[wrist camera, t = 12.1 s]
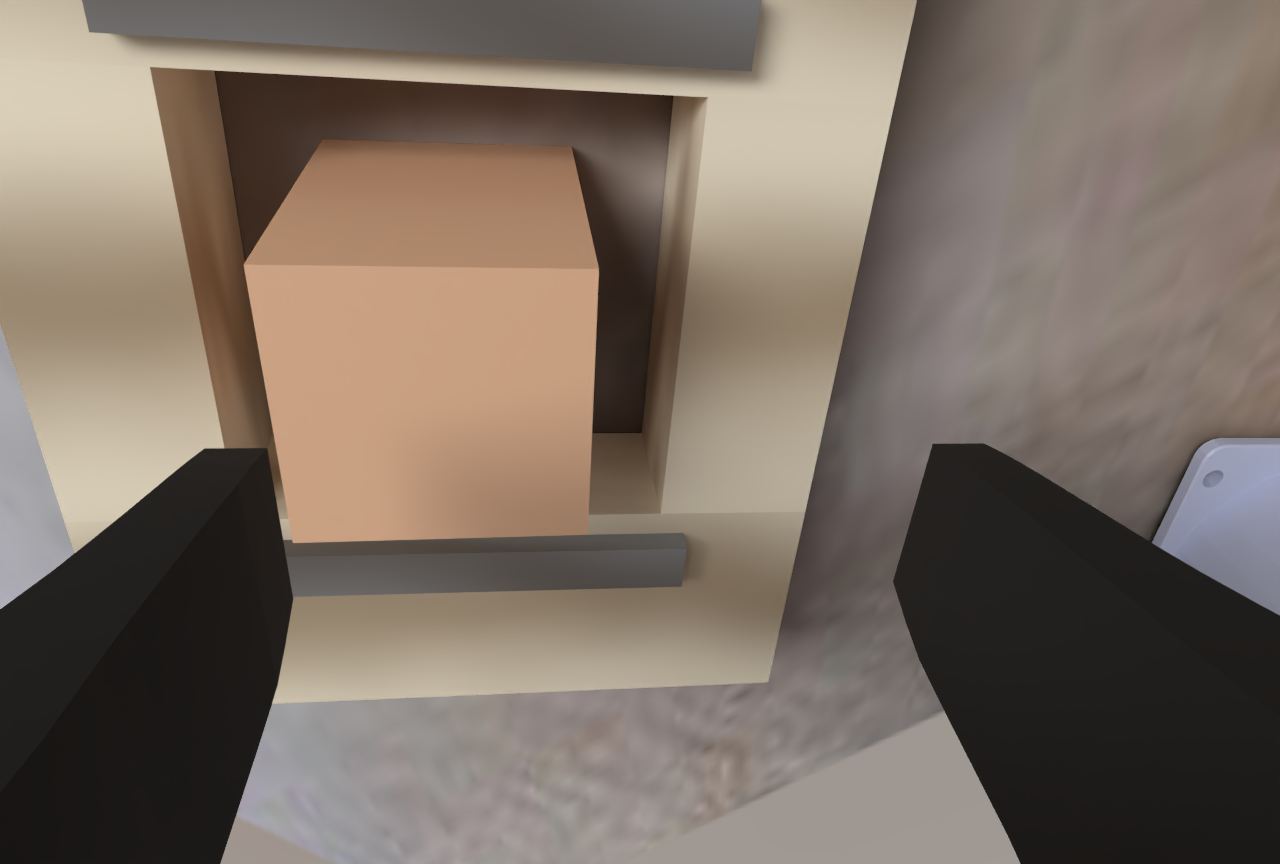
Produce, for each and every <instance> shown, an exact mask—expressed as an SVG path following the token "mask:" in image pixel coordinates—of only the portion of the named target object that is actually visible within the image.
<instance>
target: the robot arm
mask: <svg viewBox="0 0 1280 864" xmlns="http://www.w3.org/2000/svg"><path fill="white" fill-rule="evenodd" d="M1207 474H1209V475H1207ZM1206 475H1207V476H1206ZM893 583H894V586H895V589H896V592H897V595H898V598H899V602H900V605H901V608H902V611H903V614H904V617H905V621H906V624H907V627H908V629H909V632H910V635H911V638H912V640H913V643H914V646H915V649H916V652H917V654H918V657H919V660H920V662H921V664H922V666H923V668H924V670H925V672H926V674H927V676H928V678H929V680H930V682H931V685H932V687H933V689H934V691H935V693H936V695H937V697H938V699H939V701H940V703H941V705H942V707H943V709H944V711H945V713H946V715H947V717H948V719H949V721H950V723H951V725H952V727H953V728H954V730H955V732H956V734H957V736H958V738H959V740H960V742H961V744H962V746H963V748H964V750H965V752H966V754H967V756H968V758H969V760H970V762H971V763H972V766H973V768H974V770H975V772H976V774H977V776H978V778H979V780H980V782H981V784H982V786H983V788H984V790H985V792H986V793H987V795H988V797H989V799H990V801H991V803H992V805H993V807H994V809H995V811H996V813H997V815H998V817H999V819H1000V821H1001V823H1002V825H1003V827H1004V829H1005V831H1006V833H1007V835H1008V837H1009V839H1010V841H1011V843H1012V846H1013V848H1014V850H1015V852H1016V854H1017V857H1018V859H1019V861H1020V863H1021V864H1280V438H1218V439H1212V440H1210V441H1208V442H1206V443H1204V444H1203V445H1202V446H1201V447H1199V448H1198V450H1197V451H1196V453H1195V454H1194V456H1193V458H1192V461H1191V463H1190V465H1189V467H1188V469H1187V471H1186V473H1185V475H1184V477H1183V479H1182V481H1181V483H1180V485H1179V488H1178V490H1177V492H1176V494H1175V496H1174V498H1173V500H1172V502H1171V504H1170V506H1169V508H1168V510H1167V512H1166V515H1165V517H1164V519H1163V521H1162V523H1161V525H1160V527H1159V529H1158V531H1157V533H1156V535H1155V537H1154V539H1153V541H1152V543H1151V542H1149V541H1148V540H1146V539H1144V538H1143V537H1141V536H1139V535H1138V534H1136V533H1135V532H1133V531H1131V530H1130V529H1128V528H1126V527H1125V526H1123V525H1121V524H1120V523H1118V522H1117V521H1115V520H1113V519H1112V518H1110V517H1108V516H1107V515H1105V514H1104V513H1102V512H1100V511H1099V510H1097V509H1095V508H1094V507H1092V506H1091V505H1089V504H1087V503H1086V502H1084V501H1083V500H1081V499H1079V498H1078V497H1076V496H1074V495H1073V494H1071V493H1070V492H1068V491H1066V490H1065V489H1063V488H1062V487H1060V486H1058V485H1057V484H1055V483H1053V482H1052V481H1050V480H1048V479H1047V478H1045V477H1043V476H1042V475H1040V474H1038V473H1037V472H1035V471H1033V470H1032V469H1030V468H1028V467H1027V466H1025V465H1023V464H1021V463H1020V462H1018V461H1016V460H1014V459H1013V458H1011V457H1009V456H1007V455H1005V454H1003V453H1002V452H1000V451H998V450H996V449H994V448H992V447H990V446H988V445H985V444H933V445H932V449H931V452H930V456H929V459H928V463H927V466H926V470H925V473H924V477H923V480H922V483H921V487H920V490H919V494H918V497H917V501H916V504H915V508H914V511H913V515H912V518H911V522H910V525H909V528H908V532H907V535H906V539H905V542H904V546H903V549H902V553H901V556H900V560H899V563H898V566H897V570H896V573H895V577H894V580H893ZM292 604H293V594H292V588H291V582H290V576H289V571H288V565H287V559H286V553H285V548H284V542H283V536H282V530H281V524H280V519H279V513H278V507H277V501H276V496H275V490H274V484H273V478H272V472H271V467H270V461H269V455H268V449H267V448H205V449H203V450H202V451H201V452H199V453H198V454H197V455H195V456H194V457H192V458H191V459H190V460H189V461H187V462H186V463H185V464H184V465H182V466H181V467H180V468H179V469H177V470H176V471H175V472H174V473H173V474H171V475H170V476H169V477H168V478H166V479H165V480H164V481H163V482H162V483H160V484H159V485H158V486H157V487H156V488H154V489H153V490H152V491H151V492H150V493H148V494H147V495H146V496H145V497H144V498H142V499H141V500H140V501H139V502H138V503H136V504H135V505H134V506H133V507H132V508H130V509H129V510H128V511H127V512H125V513H124V514H123V515H122V516H121V517H119V518H118V519H117V520H116V521H114V522H113V523H112V524H111V525H109V526H108V527H107V528H106V529H104V530H103V531H102V532H101V533H99V534H98V535H97V536H96V537H95V538H93V539H92V540H91V541H90V542H88V543H87V544H86V545H85V546H83V547H82V548H81V549H80V550H78V551H77V552H76V553H75V554H73V555H72V556H71V557H70V558H68V559H67V560H66V561H65V562H63V563H62V564H61V565H60V566H58V567H57V568H56V569H55V570H53V571H52V572H51V573H49V574H48V575H47V576H45V577H44V578H42V579H41V580H40V581H38V582H37V583H36V584H34V585H33V586H32V587H30V588H29V589H27V590H26V591H25V592H23V593H22V594H21V595H19V596H18V597H17V598H15V599H14V600H13V601H11V602H10V603H8V604H7V605H6V606H4V607H3V608H2V609H0V864H220V863H221V860H222V856H223V853H224V850H225V847H226V844H227V841H228V838H229V835H230V832H231V829H232V826H233V823H234V820H235V817H236V814H237V810H238V807H239V804H240V801H241V798H242V795H243V792H244V789H245V786H246V783H247V780H248V777H249V774H250V771H251V768H252V765H253V761H254V758H255V755H256V752H257V749H258V746H259V743H260V740H261V737H262V733H263V730H264V727H265V724H266V721H267V718H268V715H269V711H270V708H271V705H272V702H273V699H274V695H275V692H276V689H277V686H278V681H279V676H280V670H281V665H282V660H283V655H284V650H285V645H286V639H287V633H288V627H289V621H290V615H291V610H292Z"/></svg>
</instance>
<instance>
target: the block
mask: <svg viewBox="0 0 1280 864" xmlns="http://www.w3.org/2000/svg"><path fill="white" fill-rule="evenodd" d="M244 270H245V276H246V281H247V287H248V293H249V298H250V304H251V309H252V315H253V321H254V326H255V332H256V338H257V343H258V349H259V355H260V360H261V366H262V371H263V377H264V383H265V388H266V394H267V400H268V405H269V411H270V417H271V422H272V428H273V433H274V439H275V445H276V450H277V456H278V462H279V467H280V473H281V479H282V484H283V490H284V495H285V501H286V507H287V512H288V518H289V524H290V529H291V535H292V541H293V543H313V542H349V541H384V540H420V539H455V538H491V537H526V536H561V535H588V517H589V494H590V470H591V447H592V423H593V399H594V376H595V352H596V329H597V305H598V282H599V267H598V262H597V258H596V253H595V249H594V244H593V240H592V236H591V231H590V227H589V222H588V218H587V213H586V209H585V204H584V200H583V195H582V191H581V187H580V182H579V178H578V173H577V169H576V164H575V160H574V155H573V151H572V147H561V146H528V145H496V144H463V143H431V142H398V141H366V140H333V139H322V141H321V143H320V144H319V146H318V147H317V149H316V151H315V152H314V154H313V155H312V157H311V158H310V160H309V162H308V163H307V165H306V166H305V168H304V170H303V171H302V173H301V174H300V176H299V178H298V179H297V181H296V182H295V184H294V185H293V187H292V189H291V190H290V192H289V193H288V195H287V197H286V198H285V200H284V201H283V203H282V204H281V206H280V208H279V209H278V211H277V212H276V214H275V216H274V217H273V219H272V220H271V222H270V223H269V225H268V227H267V228H266V230H265V231H264V233H263V235H262V236H261V238H260V239H259V241H258V243H257V244H256V246H255V247H254V249H253V250H252V252H251V254H250V255H249V257H248V258H247V260H246V262H245V263H244Z"/></svg>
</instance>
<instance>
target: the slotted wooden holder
mask: <svg viewBox="0 0 1280 864" xmlns="http://www.w3.org/2000/svg"><path fill="white" fill-rule="evenodd" d="M916 3H917V0H0V324H1V327H2V330H3V333H4V336H5V339H6V343H7V346H8V349H9V352H10V355H11V358H12V361H13V364H14V367H15V370H16V373H17V376H18V380H19V383H20V386H21V389H22V392H23V395H24V398H25V401H26V404H27V407H28V410H29V414H30V417H31V420H32V423H33V426H34V429H35V432H36V435H37V438H38V441H39V444H40V447H41V451H42V454H43V457H44V460H45V463H46V466H47V469H48V472H49V475H50V478H51V481H52V485H53V488H54V491H55V494H56V497H57V500H58V503H59V506H60V509H61V512H62V515H63V518H64V522H65V525H66V528H67V531H68V534H69V537H70V540H71V543H72V546H73V549H74V552H75V553H76V552H77V551H78V550H80V549H81V548H82V547H83V546H85V545H86V544H87V543H88V542H90V541H91V540H92V539H93V538H95V537H96V536H97V535H98V534H99V533H101V532H102V531H103V530H104V529H106V528H107V527H108V526H109V525H111V524H112V523H113V522H114V521H116V520H117V519H118V518H119V517H121V516H122V515H123V514H124V513H125V512H127V511H128V510H129V509H130V508H132V507H133V506H134V505H135V504H136V503H138V502H139V501H140V500H141V499H142V498H144V497H145V496H146V495H147V494H148V493H150V492H151V491H152V490H153V489H154V488H156V487H157V486H158V485H159V484H160V483H162V482H163V481H164V480H165V479H166V478H168V477H169V476H170V475H171V474H173V473H174V472H175V471H176V470H177V469H179V468H180V467H181V466H182V465H184V464H185V463H186V462H187V461H189V460H190V459H191V458H192V457H194V456H195V455H197V454H198V453H199V452H201V451H202V450H203V449H205V448H267V449H268V455H269V461H270V467H271V472H272V478H273V484H274V490H275V496H276V501H277V507H278V513H279V519H280V524H281V530H282V536H283V542H284V548H285V553H286V559H287V565H288V571H289V576H290V582H291V588H292V594H293V604H292V610H291V615H290V621H289V627H288V633H287V639H286V645H285V650H284V655H283V660H282V665H281V670H280V676H279V681H278V686H277V689H276V692H275V695H274V699H273V702H272V704H275V703H298V702H322V701H345V700H369V699H393V698H416V697H440V696H463V695H487V694H510V693H534V692H557V691H581V690H604V689H628V688H651V687H675V686H698V685H722V684H745V683H768V680H769V676H770V671H771V667H772V662H773V658H774V653H775V648H776V644H777V639H778V635H779V630H780V625H781V621H782V616H783V612H784V607H785V603H786V598H787V593H788V589H789V584H790V580H791V575H792V571H793V566H794V561H795V557H796V552H797V548H798V543H799V538H800V534H801V529H802V525H803V520H804V516H805V511H806V506H807V502H808V497H809V493H810V488H811V484H812V479H813V474H814V470H815V465H816V461H817V456H818V452H819V447H820V442H821V438H822V433H823V429H824V424H825V419H826V415H827V410H828V406H829V401H830V397H831V392H832V387H833V383H834V378H835V374H836V369H837V365H838V360H839V355H840V351H841V346H842V342H843V337H844V332H845V328H846V323H847V319H848V314H849V310H850V305H851V300H852V296H853V291H854V287H855V282H856V278H857V273H858V268H859V264H860V259H861V255H862V250H863V246H864V241H865V236H866V232H867V227H868V223H869V218H870V213H871V209H872V204H873V200H874V195H875V191H876V186H877V181H878V177H879V172H880V168H881V163H882V159H883V154H884V149H885V145H886V140H887V136H888V131H889V127H890V122H891V117H892V113H893V108H894V104H895V99H896V94H897V90H898V85H899V81H900V76H901V72H902V67H903V62H904V58H905V53H906V49H907V44H908V40H909V35H910V30H911V26H912V21H913V17H914V12H915V7H916ZM214 71H233V72H251V73H269V74H288V75H306V76H324V77H343V78H361V79H379V80H398V81H416V82H434V83H453V84H471V85H489V86H508V87H526V88H544V89H563V90H581V91H599V92H618V93H636V94H654V95H673V106H672V117H671V127H670V138H669V149H668V159H667V170H666V181H665V191H664V202H663V213H662V223H661V234H660V244H659V255H658V266H657V276H656V287H655V298H654V308H653V319H652V330H651V340H650V351H649V362H648V372H647V383H646V394H645V404H644V415H643V426H642V433H592V447H591V470H590V494H589V517H588V535H561V536H526V537H491V538H455V539H420V540H384V541H349V542H313V543H293V541H292V535H291V529H290V524H289V518H288V512H287V507H286V501H285V495H284V490H283V484H282V479H281V473H280V467H279V462H278V456H277V450H276V445H275V439H274V433H272V427H271V420H270V414H269V408H268V402H267V395H266V389H265V383H264V377H263V371H262V366H261V360H260V355H259V349H258V343H257V338H256V332H255V326H254V321H253V315H252V309H251V304H250V298H249V293H248V287H247V281H246V276H245V270H244V263H245V258H244V252H243V246H242V240H241V234H240V227H239V221H238V215H237V209H236V202H235V196H234V190H233V184H232V178H231V171H230V165H229V159H228V153H227V146H226V140H225V134H224V128H223V122H222V115H221V109H220V103H219V97H218V90H217V84H216V78H215V72H214Z"/></svg>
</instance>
